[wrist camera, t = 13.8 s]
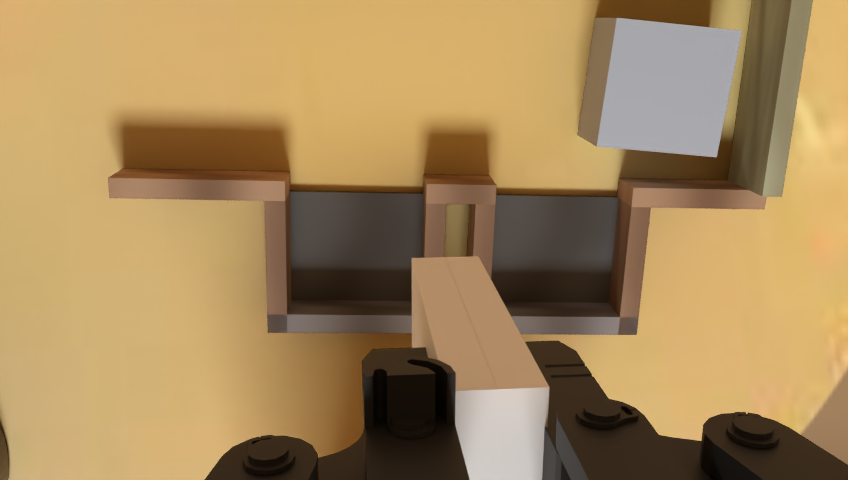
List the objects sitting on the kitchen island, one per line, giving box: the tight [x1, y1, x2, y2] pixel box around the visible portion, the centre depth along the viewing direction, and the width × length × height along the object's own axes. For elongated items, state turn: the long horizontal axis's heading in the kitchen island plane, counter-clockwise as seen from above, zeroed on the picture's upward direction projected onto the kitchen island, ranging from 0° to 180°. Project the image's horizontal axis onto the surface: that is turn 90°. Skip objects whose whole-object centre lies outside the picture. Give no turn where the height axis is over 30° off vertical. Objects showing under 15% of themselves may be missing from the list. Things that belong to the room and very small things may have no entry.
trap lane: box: [108, 0, 813, 335], centre depth 39 cm, size 33×20×4 cm, turn 88°
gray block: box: [578, 18, 742, 157], centre depth 39 cm, size 6×6×4 cm
